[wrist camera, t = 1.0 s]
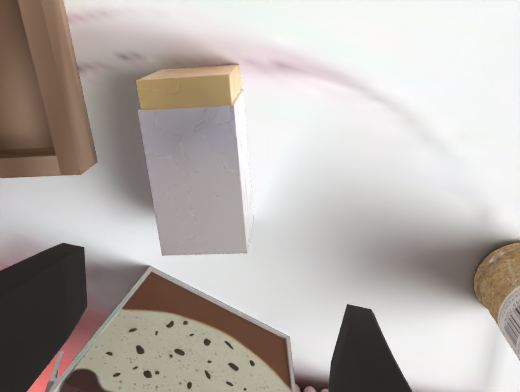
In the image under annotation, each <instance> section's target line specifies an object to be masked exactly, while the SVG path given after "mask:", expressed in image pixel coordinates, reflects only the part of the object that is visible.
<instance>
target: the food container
mask: <svg viewBox="0 0 520 392" xmlns="http://www.w3.org/2000/svg"><path fill="white" fill-rule="evenodd" d="M63 353H64V351H60V352H59V354H58V357H57V360H56V362H55V365H54V368H53V370H52V373H51V376H50V379H49V381H48V384H47V387H46V390H45V392H296V388H295V379H294V370H293V362H292V353H291V345H290V337H289V336H287V335H285V334H283V333H281V332H279V331H277V330H275V329H274V328H272V327H270V326H268V325H266V324H264V323H262V322H260V321H258V320H256V319H254V318H252V317H250V316H248V315H246V314H244V313H242V312H240V311H238V310H236V309H234V308H232V307H230V306H228V305H226V304H224V303H222V302H220V301H218V300H216V299H214V298H213V297H211V296H209V295H207V294H205V293H203V292H201V291H199V290H197V289H195V288H193V287H191V286H189V285H187V284H185V283H183V282H181V281H179V280H177V279H175V278H173V277H171V276H169V275H167V274H165V273H163V272H161V271H159V270H157V269H155V268H153V267H152V266H150V267H149V268H148V269H147V270H146V271H145V273H144V274H143V275H142V276H141V278H140V279H139V280H138V281H137V282H136V284H135V285H134V286H133V287H132V289H131V290H130V291H129V292H128V293H127V295H126V296H125V297H124V298H123V300H122V301H121V302H120V303H119V304H118V306H117V307H116V308H115V309H114V311H113V312H112V313H111V314H110V315H109V317H108V318H107V319H106V320H105V322H104V323H103V324H102V325H101V326H100V328H99V329H98V330H97V331H96V333H95V334H94V335H93V336H92V337H91V339H90V340H89V341H88V342H87V344H86V345H85V346H84V347H83V348H82V350H81V351H80V352H79V353H78V355H77V356H76V357H75V358H74V360H73V361H72V362H71V363H70V364H69V366H68V367H67V368H66V369H65V371H64V372H63V373H62V374H61V375H60V377H59V378H57V373H58V367H59V364H60V361H61V359H62V356H63Z"/></svg>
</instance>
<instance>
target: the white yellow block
mask: <svg viewBox="0 0 520 392" xmlns="http://www.w3.org/2000/svg"><path fill="white" fill-rule="evenodd" d="M136 85H137V91H138V97H139V103H140V109H139V110H138V116H139V122H140V128H141V134H142V140H143V146H144V152H145V158H146V163H147V169H148V175H149V181H150V187H151V193H152V199H153V204H154V210H155V216H156V222H157V228H158V234H159V240H160V246H161V251H162V255H197V254H232V253H247V251H248V246H249V240H250V235H251V229H252V224H253V218H254V215H253V202H252V190H251V178H250V165H249V153H248V141H247V128H246V116H245V104H244V91H243V90H241V80H240V68H239V64H236V65H221V66H206V67H190V68H175V69H161V70H158V71H156V72H154V73H151V74H149V75H147V76H145V77H142V78H140V79H138V80H136Z"/></svg>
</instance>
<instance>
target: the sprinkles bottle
mask: <svg viewBox="0 0 520 392" xmlns="http://www.w3.org/2000/svg"><path fill="white" fill-rule="evenodd" d="M474 291H475V293H476V296H477V298H478V300H479V301H480V303H481V304H482V305H483V306H484V307H485V308H487V309H488V310H489V312H490V314H491V315H492V317H493V318H494V319H495V321H496V323H497V324H498V326H499V328H500V331H501V332H502V334H503V335H504V337H505V338H506V340H507V341H508V343H509V345H510V346H511V348H512V349H513V351H514V352H515V354H516V355H517V357H518V358H519V360H520V243H514V244H510V245H505V246H503V247H501V248H498V249H496V250H495V251H493V252H492V253H490V254H489V255H488V256H487V257H486V258H485V259H484V260H483V262H482V263H481V264H480V265H479V267H478V268H477V271H476V274H475V276H474Z"/></svg>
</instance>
